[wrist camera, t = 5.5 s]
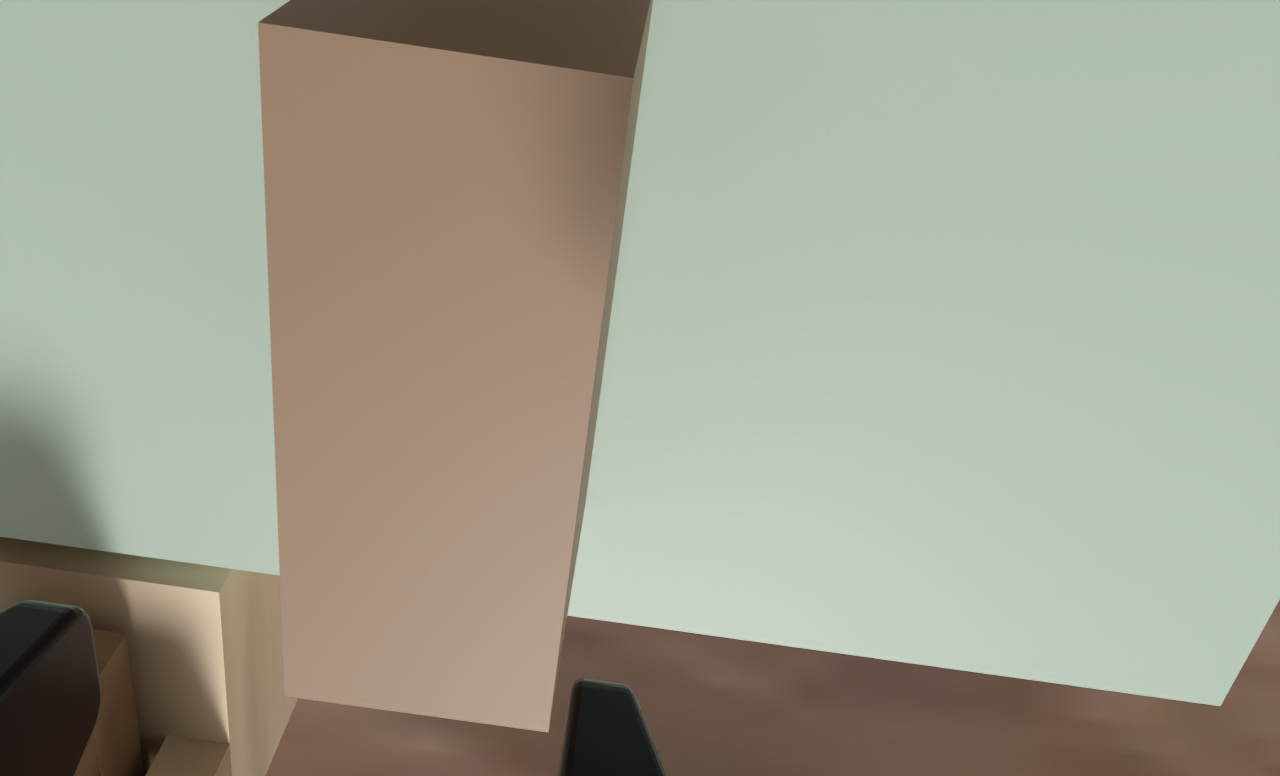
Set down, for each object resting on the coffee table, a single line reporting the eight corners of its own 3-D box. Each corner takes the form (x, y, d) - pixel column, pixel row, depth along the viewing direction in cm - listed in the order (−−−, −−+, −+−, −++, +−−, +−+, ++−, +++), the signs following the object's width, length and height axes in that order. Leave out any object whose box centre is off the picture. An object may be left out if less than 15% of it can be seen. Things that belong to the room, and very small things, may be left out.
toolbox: (1349, -138, 17) (1906, -5, 9) (1000, 695, 25) (1126, 1130, 18) (-178, -381, 16) (-1004, -467, 8) (3, 554, 25) (-320, 937, 17)
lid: (1583, -111, 12) (2091, -7, 8) (1190, 648, 18) (1351, 964, 13) (-511, -435, 12) (-1268, -524, 7) (-232, 449, 17) (-560, 706, 13)
